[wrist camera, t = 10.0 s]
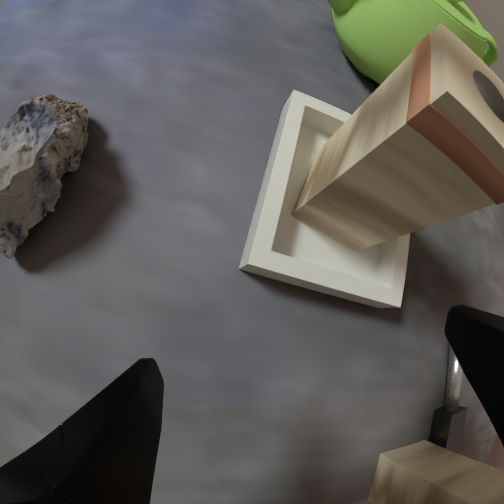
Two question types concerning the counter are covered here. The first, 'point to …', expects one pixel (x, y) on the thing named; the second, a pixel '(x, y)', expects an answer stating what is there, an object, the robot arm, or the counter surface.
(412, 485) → the block
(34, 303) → the counter surface
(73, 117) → the mineral specimen
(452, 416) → the pin gauge
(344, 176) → the block
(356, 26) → the teapot
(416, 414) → the counter surface
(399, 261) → the tray
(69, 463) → the robot arm
